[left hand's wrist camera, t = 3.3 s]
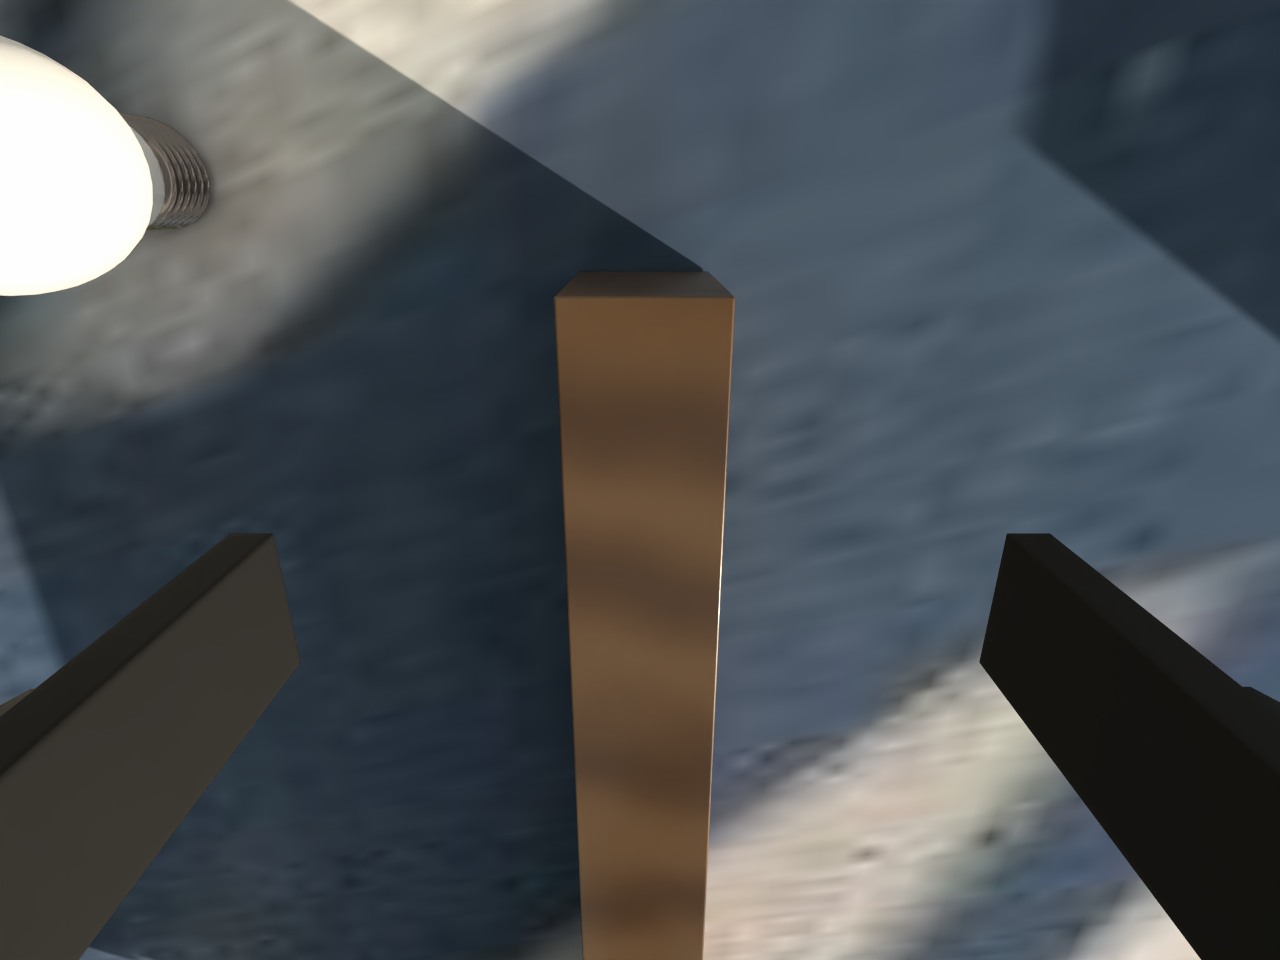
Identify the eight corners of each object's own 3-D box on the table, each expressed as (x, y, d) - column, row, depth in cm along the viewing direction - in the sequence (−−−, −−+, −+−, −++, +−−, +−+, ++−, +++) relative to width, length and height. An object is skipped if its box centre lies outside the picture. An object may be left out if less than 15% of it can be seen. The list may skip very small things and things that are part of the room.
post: (578, 271, 27) (553, 296, 19) (708, 271, 27) (735, 296, 19) (605, 1141, 47) (598, 1317, 40) (678, 1141, 47) (685, 1317, 40)
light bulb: (257, 114, 24) (-20, 46, 14) (232, 299, 27) (-21, 356, 17) (56, 39, 24) (-389, -88, 13) (49, 237, 26) (-335, 257, 16)
